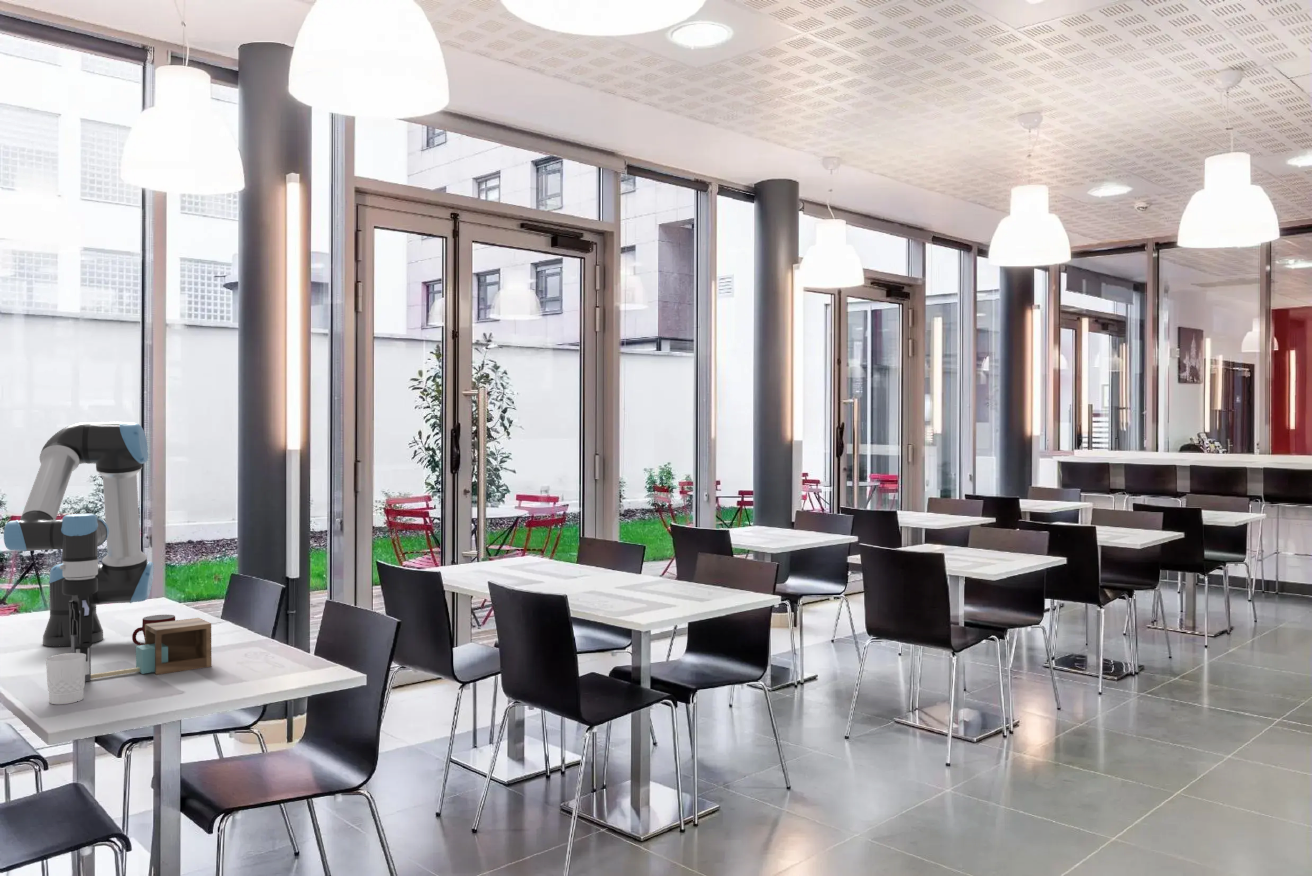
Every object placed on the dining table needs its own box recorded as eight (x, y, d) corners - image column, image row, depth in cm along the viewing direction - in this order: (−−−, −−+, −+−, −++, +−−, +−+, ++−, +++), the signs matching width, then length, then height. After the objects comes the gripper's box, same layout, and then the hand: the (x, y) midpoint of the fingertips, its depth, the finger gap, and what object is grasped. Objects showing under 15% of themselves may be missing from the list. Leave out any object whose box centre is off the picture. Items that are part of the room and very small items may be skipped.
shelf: (145, 667, 257) (144, 624, 257) (198, 659, 266) (198, 617, 266) (156, 674, 250) (156, 630, 250) (211, 666, 258) (211, 623, 258)
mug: (132, 659, 266) (132, 622, 266) (132, 653, 274) (131, 617, 273) (176, 655, 272) (176, 618, 271) (174, 649, 279) (174, 613, 279)
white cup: (57, 696, 230) (57, 653, 230) (92, 695, 231) (92, 652, 230) (39, 706, 222) (38, 661, 222) (76, 705, 223) (75, 660, 223)
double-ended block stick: (70, 679, 244) (69, 634, 244) (161, 665, 258) (161, 623, 258) (75, 683, 240) (75, 638, 240) (168, 669, 254) (167, 626, 253)
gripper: (55, 575, 247) (55, 669, 247) (70, 583, 234) (71, 682, 234) (89, 572, 252) (89, 664, 252) (105, 579, 239) (106, 677, 239)
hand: (80, 672), depth 243 cm, fingers closed on double-ended block stick, 3 cm apart
